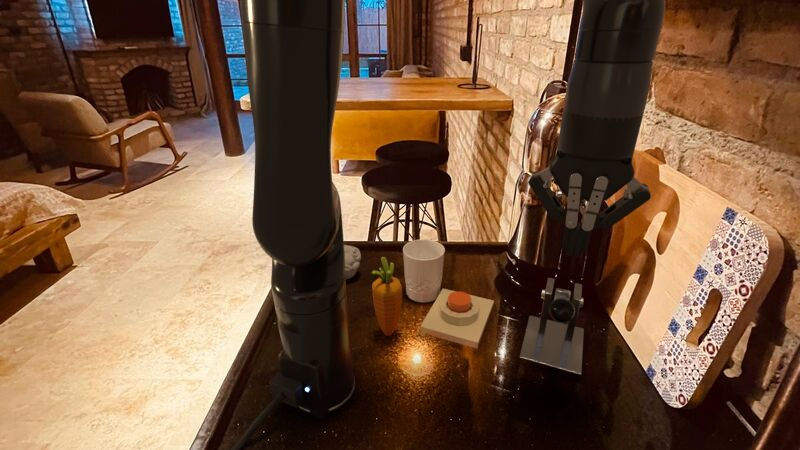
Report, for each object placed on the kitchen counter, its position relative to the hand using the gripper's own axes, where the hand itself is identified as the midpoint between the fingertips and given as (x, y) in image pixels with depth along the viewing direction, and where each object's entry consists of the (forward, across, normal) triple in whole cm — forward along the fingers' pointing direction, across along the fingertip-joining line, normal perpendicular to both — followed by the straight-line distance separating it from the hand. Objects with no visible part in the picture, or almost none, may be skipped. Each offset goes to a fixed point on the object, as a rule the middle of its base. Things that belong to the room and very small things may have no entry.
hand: (573, 253), depth 49 cm
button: (+19, -16, +9) cm, 27 cm away
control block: (+23, -16, +9) cm, 29 cm away
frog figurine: (+23, -42, +14) cm, 50 cm away
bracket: (+23, 0, +9) cm, 25 cm away
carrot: (+23, -26, +1) cm, 35 cm away
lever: (+12, 0, +4) cm, 13 cm away
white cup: (+23, -25, +15) cm, 37 cm away
